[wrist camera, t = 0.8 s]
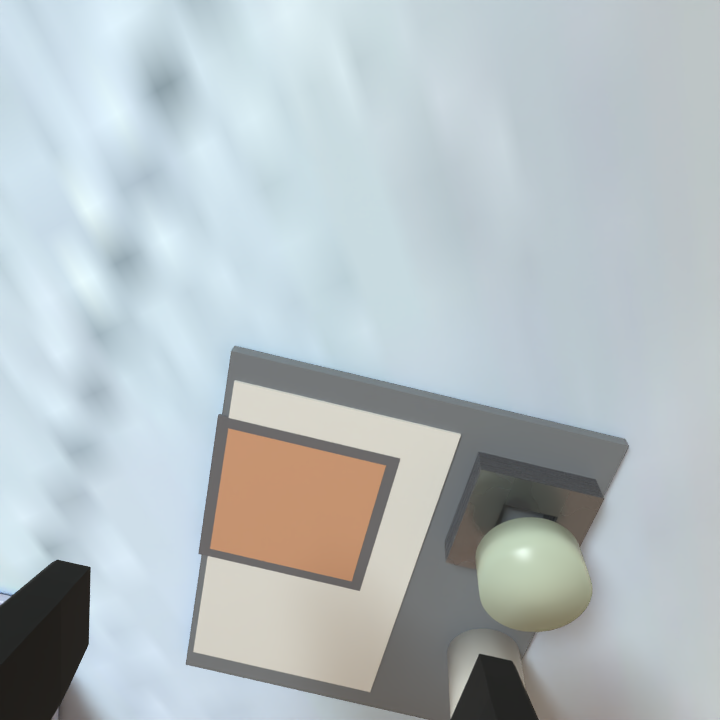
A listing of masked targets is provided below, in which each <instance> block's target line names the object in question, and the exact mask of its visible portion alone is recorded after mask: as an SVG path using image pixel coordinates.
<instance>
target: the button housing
mask: <svg viewBox="0 0 720 720" xmlns="http://www.w3.org/2000/svg"><path fill="white" fill-rule="evenodd" d="M603 500H604V497H603V495H602V492H601V490H600V488H599V485H598V483H597V481H596V479H592V478H588V477H584V476H579V475H575V474H571V473H567V472H563V471H558V470H554V469H550V468H546V467H541V466H537V465H533V464H529V463H525V462H520V461H516V460H512V459H508V458H503V457H499V456H495V455H491V454H487V453H482V452H478V454H477V457H476V459H475V462H474V465H473V467H472V470H471V473H470V475H469V478H468V481H467V483H466V486H465V489H464V491H463V494H462V497H461V499H460V502H459V505H458V507H457V510H456V513H455V515H454V518H453V521H452V524H451V526H450V529H449V532H448V534H447V537H446V540H445V560H446V563H450V564H454V565H459V566H463V567H467V568H471V569H476V559H475V556H476V550H477V547H478V545H479V543H480V541H481V540H482V538H483V537H484V536H485V535H486V534H487V533H488V532H489V531H490V530H491V529H492V528H494V527H495V525H496V522H497V520H498V518H499V515H500V513H501V510H502V508H503V505H508V506H512V507H517V508H521V509H525V510H529V511H534V512H538V513H542V514H544V516H543V519H547V520H551V521H554V522H556V523H558V524H560V525H562V526H563V527H565V528H566V529H567V530H569V531H570V532H571V533H572V534H573V536H574V537H575V538H576V540H577V542H578V544H579V547H580V545H581V543H582V541H583V539H584V537H585V535H586V533H587V532H588V530H589V528H590V526H591V524H592V522H593V520H594V518H595V516H596V514H597V512H598V510H599V508H600V506H601V504H602V502H603Z"/></svg>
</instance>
